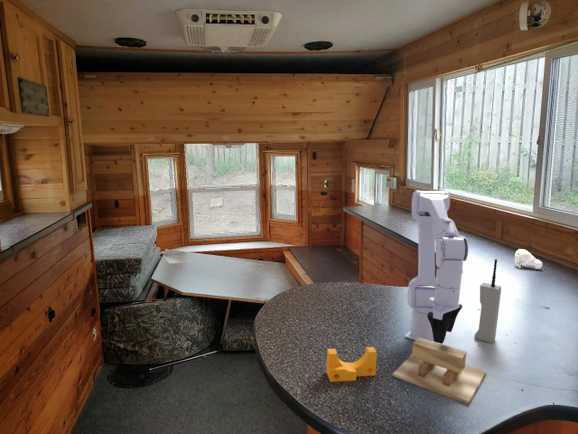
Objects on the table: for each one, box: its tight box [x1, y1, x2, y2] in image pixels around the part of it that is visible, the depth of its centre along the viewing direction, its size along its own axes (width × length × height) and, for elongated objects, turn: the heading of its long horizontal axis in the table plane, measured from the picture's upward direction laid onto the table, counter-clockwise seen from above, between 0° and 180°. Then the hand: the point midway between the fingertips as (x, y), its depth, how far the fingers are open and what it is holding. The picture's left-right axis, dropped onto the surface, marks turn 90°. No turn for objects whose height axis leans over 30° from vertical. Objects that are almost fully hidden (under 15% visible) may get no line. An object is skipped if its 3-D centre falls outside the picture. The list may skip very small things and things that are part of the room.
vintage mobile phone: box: [474, 258, 502, 344], centre depth 123 cm, size 4×5×25 cm
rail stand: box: [392, 354, 487, 406], centre depth 105 cm, size 16×18×3 cm
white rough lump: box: [514, 248, 543, 270], centre depth 198 cm, size 6×8×12 cm
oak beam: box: [411, 337, 467, 373], centre depth 104 cm, size 4×12×4 cm, turn 54°
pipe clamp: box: [326, 346, 378, 383], centre depth 103 cm, size 12×4×6 cm, turn 97°
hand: (442, 336), depth 105 cm, fingers open, 7 cm apart
